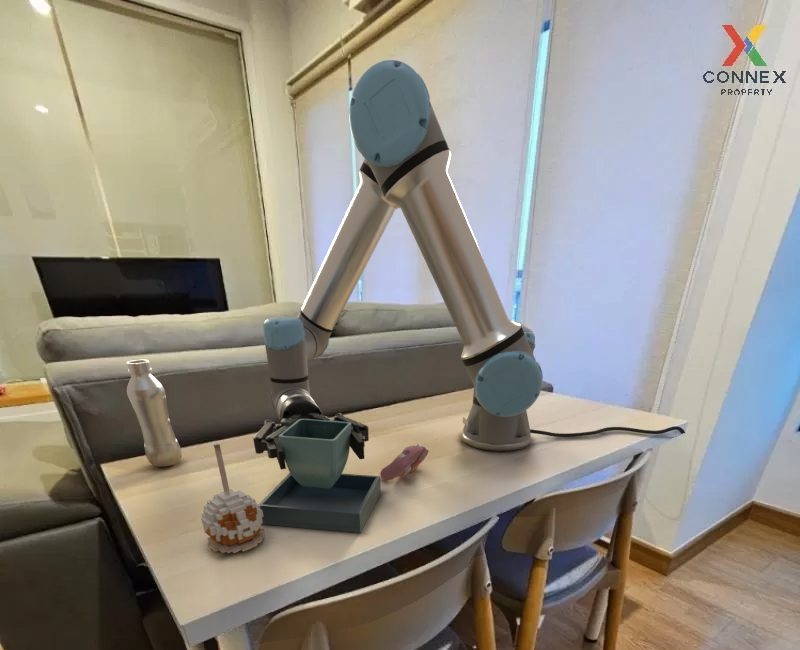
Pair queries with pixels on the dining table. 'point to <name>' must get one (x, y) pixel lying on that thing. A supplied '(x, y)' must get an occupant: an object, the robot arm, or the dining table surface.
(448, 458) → the dining table surface
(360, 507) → the tray
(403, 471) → the pink elongated piece
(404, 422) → the dining table surface
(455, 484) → the dining table surface
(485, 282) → the robot arm
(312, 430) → the flower pot
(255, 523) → the decorative ornament
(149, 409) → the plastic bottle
